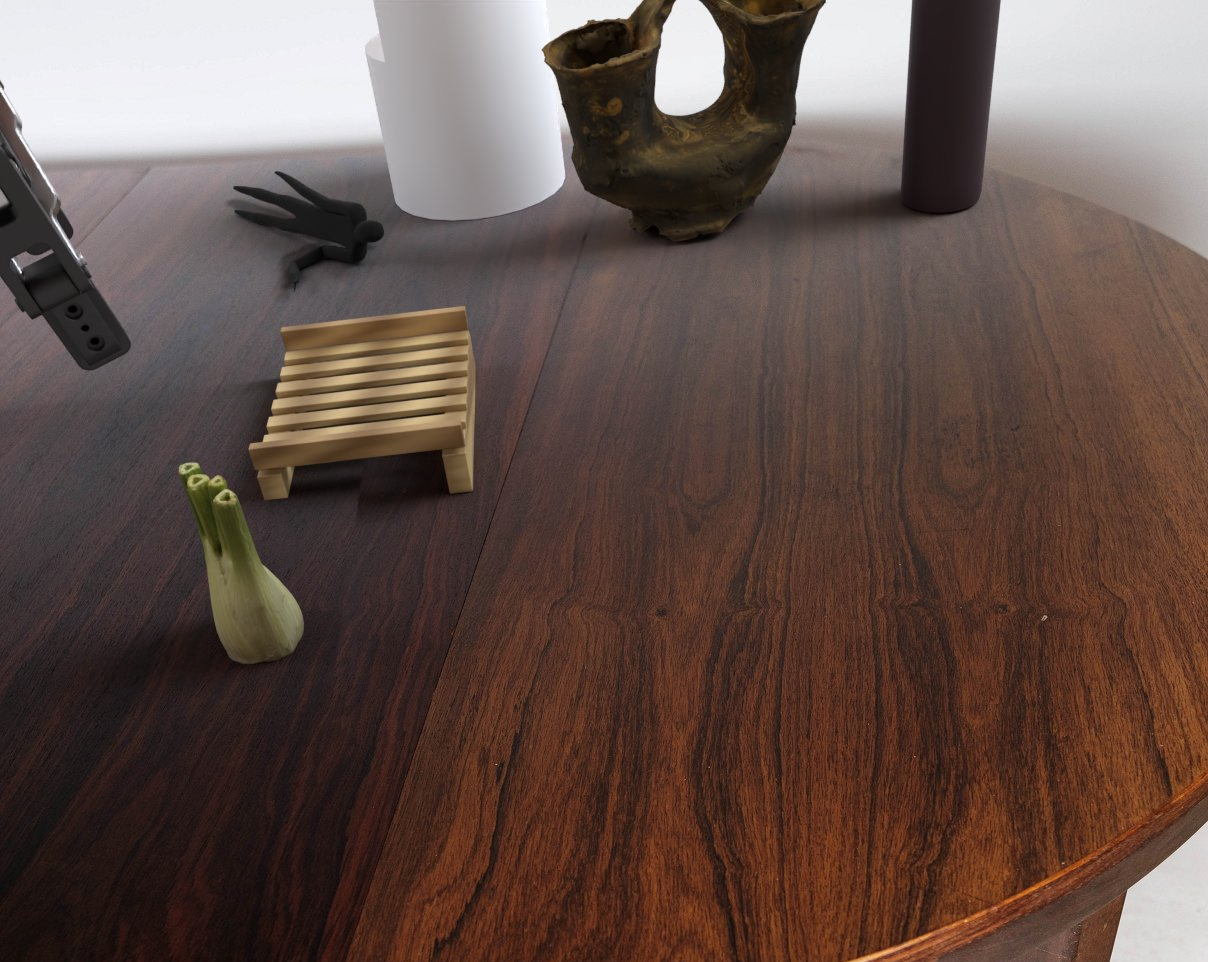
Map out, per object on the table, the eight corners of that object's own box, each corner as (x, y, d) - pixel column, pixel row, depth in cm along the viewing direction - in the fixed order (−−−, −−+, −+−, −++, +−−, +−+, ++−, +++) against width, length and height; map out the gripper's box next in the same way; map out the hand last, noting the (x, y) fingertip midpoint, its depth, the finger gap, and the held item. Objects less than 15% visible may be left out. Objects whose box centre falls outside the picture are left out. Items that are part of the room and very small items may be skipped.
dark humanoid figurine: (161, 160, 123) (302, 197, 108) (243, 160, 129) (389, 196, 113) (167, 249, 127) (304, 297, 112) (247, 246, 133) (389, 291, 117)
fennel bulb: (227, 630, 79) (164, 458, 71) (308, 613, 79) (254, 441, 71) (229, 690, 74) (161, 514, 66) (313, 671, 75) (257, 495, 67)
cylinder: (600, 173, 129) (569, -161, 111) (473, 234, 121) (416, -117, 102) (485, 144, 139) (438, -168, 120) (359, 198, 130) (288, -128, 112)
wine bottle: (981, 184, 118) (1021, -216, 98) (979, 215, 113) (1021, -200, 93) (902, 184, 120) (926, -209, 100) (897, 215, 115) (921, -193, 95)
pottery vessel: (788, 171, 125) (788, -63, 112) (845, 207, 117) (853, -40, 104) (547, 232, 120) (518, -7, 106) (590, 273, 112) (565, 21, 99)
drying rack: (268, 515, 88) (248, 449, 85) (298, 388, 101) (281, 327, 98) (473, 491, 88) (460, 424, 84) (475, 367, 101) (465, 305, 98)
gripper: (-338, -146, 43) (-42, 249, 57) (-287, 44, 35) (40, 445, 49) (-128, -240, 44) (113, 172, 57) (-36, -74, 36) (216, 353, 50)
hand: (79, 298), depth 53 cm, fingers open, 8 cm apart
